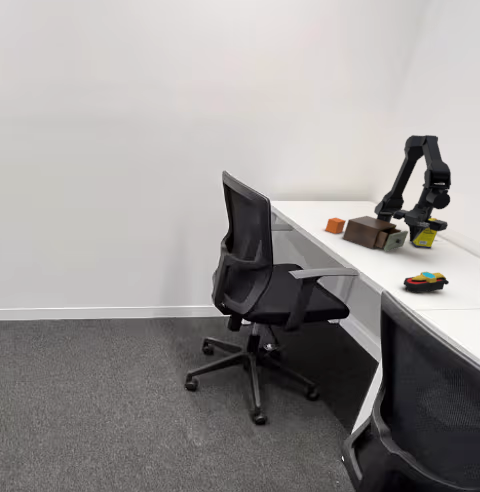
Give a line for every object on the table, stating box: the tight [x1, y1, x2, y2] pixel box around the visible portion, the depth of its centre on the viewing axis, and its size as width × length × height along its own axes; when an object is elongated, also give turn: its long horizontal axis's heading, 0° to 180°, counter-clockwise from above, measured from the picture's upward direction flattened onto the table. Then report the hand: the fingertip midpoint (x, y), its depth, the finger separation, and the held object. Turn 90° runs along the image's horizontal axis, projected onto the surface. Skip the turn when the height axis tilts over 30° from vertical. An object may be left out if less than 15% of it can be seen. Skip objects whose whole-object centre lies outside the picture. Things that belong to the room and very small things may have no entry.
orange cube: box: [325, 217, 346, 235], centre depth 236 cm, size 5×5×5 cm
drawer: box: [374, 228, 409, 252], centre depth 221 cm, size 14×11×6 cm
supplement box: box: [410, 217, 439, 249], centre depth 223 cm, size 6×6×11 cm
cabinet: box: [342, 215, 397, 250], centre depth 225 cm, size 14×13×8 cm
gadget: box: [403, 271, 450, 293], centre depth 185 cm, size 6×13×6 cm, turn 95°
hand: (411, 241), depth 216 cm, fingers closed
